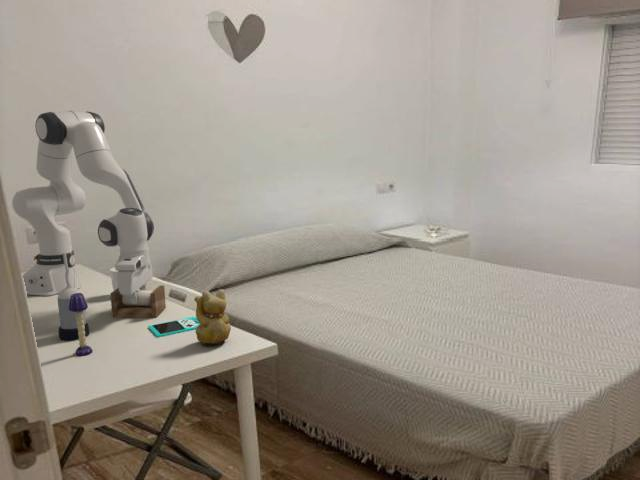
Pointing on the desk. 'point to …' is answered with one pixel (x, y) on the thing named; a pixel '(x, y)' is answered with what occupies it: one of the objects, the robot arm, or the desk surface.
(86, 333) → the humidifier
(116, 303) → the holder
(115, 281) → the white cup
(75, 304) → the toy lamp
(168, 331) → the handheld game console
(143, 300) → the roll
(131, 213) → the robot arm
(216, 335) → the decorative figurine
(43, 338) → the desk surface
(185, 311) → the desk surface
